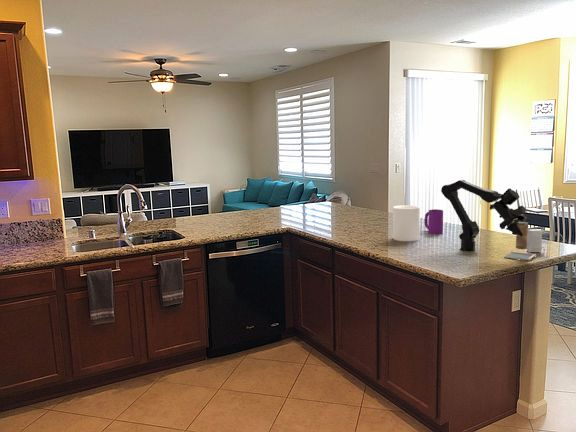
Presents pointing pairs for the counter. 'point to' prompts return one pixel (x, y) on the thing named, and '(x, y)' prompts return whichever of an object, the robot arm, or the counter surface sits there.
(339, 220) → the counter surface
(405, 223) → the canister
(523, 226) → the brown cylinder
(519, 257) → the slate mat
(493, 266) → the counter surface
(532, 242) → the skincare box
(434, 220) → the mug
